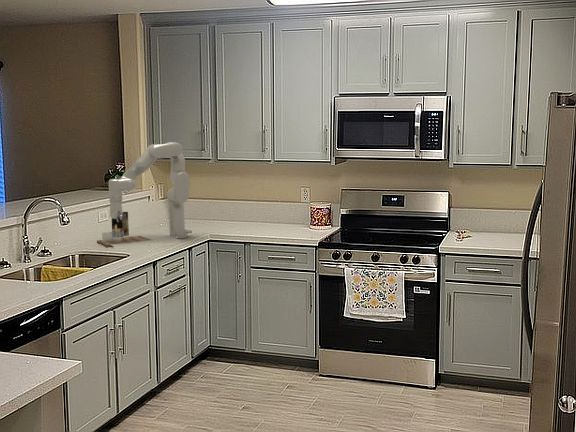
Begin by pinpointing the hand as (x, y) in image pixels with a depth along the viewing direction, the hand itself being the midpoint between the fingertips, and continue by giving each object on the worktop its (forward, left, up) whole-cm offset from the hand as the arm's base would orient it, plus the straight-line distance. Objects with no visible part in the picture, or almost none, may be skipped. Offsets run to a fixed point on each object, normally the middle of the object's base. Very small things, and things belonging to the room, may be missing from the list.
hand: (117, 227), depth 441 cm
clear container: (+3, -3, -8) cm, 9 cm away
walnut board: (-4, -1, -10) cm, 11 cm away
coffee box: (-9, -21, -10) cm, 25 cm away
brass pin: (0, 0, -8) cm, 8 cm away
